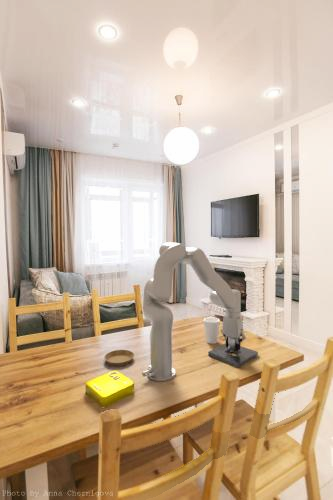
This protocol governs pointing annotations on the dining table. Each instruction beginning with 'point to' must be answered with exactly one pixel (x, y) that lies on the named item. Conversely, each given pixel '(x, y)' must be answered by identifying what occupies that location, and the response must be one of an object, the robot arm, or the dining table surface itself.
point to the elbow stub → (231, 344)
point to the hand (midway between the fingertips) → (232, 348)
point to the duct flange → (237, 360)
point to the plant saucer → (119, 357)
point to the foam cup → (211, 329)
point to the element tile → (109, 388)
